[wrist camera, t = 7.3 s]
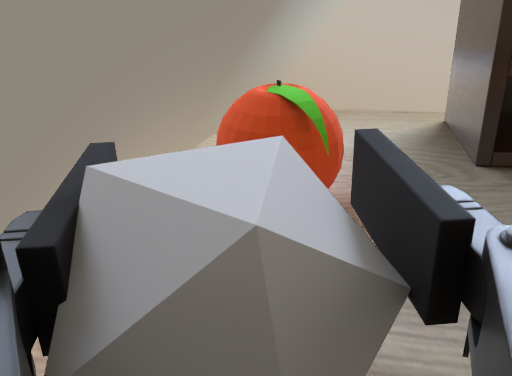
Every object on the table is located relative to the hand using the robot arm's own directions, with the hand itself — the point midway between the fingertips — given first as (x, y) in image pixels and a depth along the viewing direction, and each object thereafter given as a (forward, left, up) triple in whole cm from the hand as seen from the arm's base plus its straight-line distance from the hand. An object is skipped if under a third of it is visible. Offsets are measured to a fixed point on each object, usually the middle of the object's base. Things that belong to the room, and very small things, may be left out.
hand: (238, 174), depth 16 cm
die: (+1, -4, -6) cm, 8 cm away
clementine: (-1, +10, -6) cm, 11 cm away
